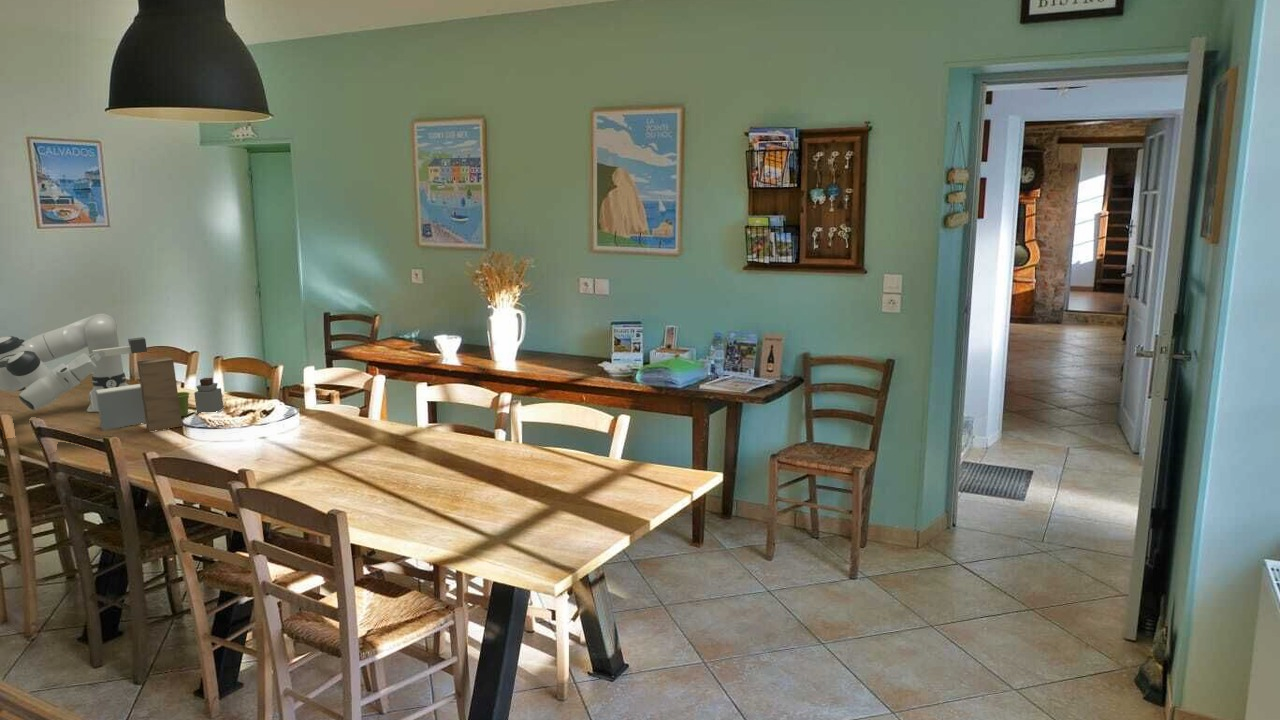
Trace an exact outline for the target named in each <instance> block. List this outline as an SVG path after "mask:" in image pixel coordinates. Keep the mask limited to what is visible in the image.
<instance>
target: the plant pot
mask: <svg viewBox="0 0 1280 720" xmlns="http://www.w3.org/2000/svg"><path fill="white" fill-rule="evenodd" d="M190 394H191V393H190V392H188V391H187V392H186V391H178V399H179V406H180V413H181V417H186V416H188V415H189V398H190ZM185 415H186V416H185Z"/></svg>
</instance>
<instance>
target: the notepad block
mask: <svg viewBox="0 0 1280 720" xmlns="http://www.w3.org/2000/svg"><path fill="white" fill-rule="evenodd" d="M96 398H97V404H98V411H99V412H98V416H99V422H100V428H101V429H102V431H103V432H104V431H109V430H116V429H121V428H120V427H122V428H125V427H124V426H128V427H130V426H129V425H134V426H137V425H136V424H140V425H142V424H141V423H146V420H145V414H144V407H143V400H142V393H141V386H140V383H137V384H136V383H135V384H128V386H121V387H114V388H107V389H100V390H96Z"/></svg>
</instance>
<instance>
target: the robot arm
mask: <svg viewBox="0 0 1280 720" xmlns="http://www.w3.org/2000/svg"><path fill="white" fill-rule="evenodd" d="M117 329H118V325H117V322H116V320H115V319H114V318H113V316H111V315H108V314H106V313H97V314H93V315H91V316H88V317H85V318H83V319H80V320H76V321H75V322H72V323H69V324H67V325H64V326H61V327H59V328H58V327H57V328H56V329H53V330H50V331H46V332H44V333H40V334H38V335H35V336H33V337H30V338H28V339H27V340H25V339H23V338H22V339H21V338H19V337H17V336H13V335H9V336H1V337H0V391H4V392H10V393H12V392H20V393H18V398H19V400H20V401H21V402H22V403H23V404H24V405H25V406H27V408H29V409H30V410H32V411H37V410H39V409H42V408H43V407H45V406H47V405H49V404H51V403H52V402H54V401H55V400H57V399H59V397H60V396H61V395H62V394H64V393H66V392H68V391H70V390H72V389H73V388H74V387H77V386H79V385H80V384H81V381H83V380H84V379H86V378H87V377H88V376H89V375H91V374H92V377H91V382H92V386H93V388H91V390H90V392H89V393H87V394H88V399H89V400H90V402H89V405H88V407H87V409H86V412H87V413H90V412H93V413H94V412H97V413H99V411H98V404H97V398H96V390H100V389H107V388H114V387H121V386H128V385H129V383H127V382H126V381H127V379H126V374H125V371H124V367H123V362H122V354H120V355H112V356H104V355H105V353H104V352H103V351H100V352H98V354H96V355H95V356H93V353H92V350H99V349H107V348H116V347H120V343H119V337H118V332H117V331H118V330H117ZM86 348H87V349H88V354H89V355H88V354H87V353H86V352H83V353H82V354H80V355H78V356H77V357H76V358H74V359H73V360H72V361H70V362H69V363H67V364H65V363H64V362H62V363H61V364H59V365H57V366H56V367H54V368H53V369H52V370H51V369H49V367H48V366H47V365H46V362H47V363H48V362H51V361H53V360H57V359H59V358H63V357H64V356H65V357H66V356H68V355H71V354H74V353H77V352H79V351H81V350H84V349H86ZM103 356H104V357H103Z"/></svg>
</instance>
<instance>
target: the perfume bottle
mask: <svg viewBox="0 0 1280 720" xmlns="http://www.w3.org/2000/svg"><path fill="white" fill-rule="evenodd" d="M213 379H214V378H213V377H203V378H201V379H199V382H200V383H199V385H196V389H197V391H195V392H194V393H193V394H194V401H195V402H194V403H195V409H196V416H197V415H198V414H199V413H201V412H216V411H219V410H221V409H222V408H224V401H223V392H222V388H221V387H220V388H218V384H219V383H218V382H213V381H214V380H213Z"/></svg>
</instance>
